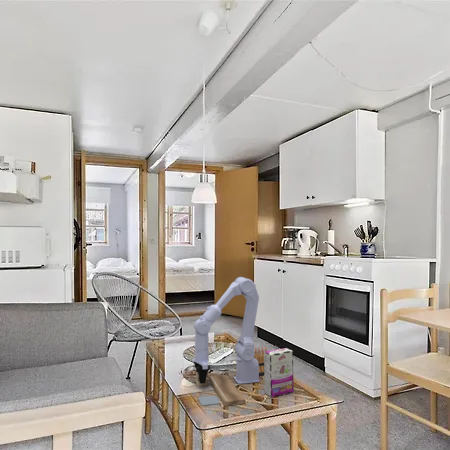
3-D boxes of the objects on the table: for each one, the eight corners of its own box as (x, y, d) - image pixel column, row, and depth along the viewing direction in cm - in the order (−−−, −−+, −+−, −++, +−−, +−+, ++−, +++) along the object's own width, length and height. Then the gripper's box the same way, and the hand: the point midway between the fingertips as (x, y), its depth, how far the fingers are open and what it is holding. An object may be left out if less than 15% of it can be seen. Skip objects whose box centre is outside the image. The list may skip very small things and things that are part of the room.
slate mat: (215, 396, 139) (215, 395, 139) (220, 403, 133) (220, 402, 133) (197, 398, 137) (197, 397, 137) (201, 406, 131) (201, 405, 131)
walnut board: (226, 378, 158) (226, 374, 158) (245, 403, 133) (245, 399, 133) (208, 380, 155) (208, 376, 156) (224, 406, 130) (224, 401, 131)
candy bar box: (286, 388, 147) (286, 347, 148) (294, 392, 143) (293, 350, 144) (263, 393, 142) (263, 351, 143) (270, 398, 138) (270, 354, 139)
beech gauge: (205, 383, 153) (205, 368, 153) (206, 385, 150) (207, 371, 150) (196, 384, 151) (196, 369, 152) (197, 386, 149) (197, 371, 149)
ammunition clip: (251, 377, 159) (248, 348, 162) (249, 377, 160) (246, 348, 164) (272, 373, 163) (268, 345, 167) (270, 373, 165) (265, 346, 169)
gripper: (189, 344, 157) (189, 376, 157) (195, 354, 143) (195, 388, 143) (205, 343, 159) (204, 374, 158) (212, 352, 145) (212, 387, 144)
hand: (201, 381), depth 151 cm, fingers open, 4 cm apart
